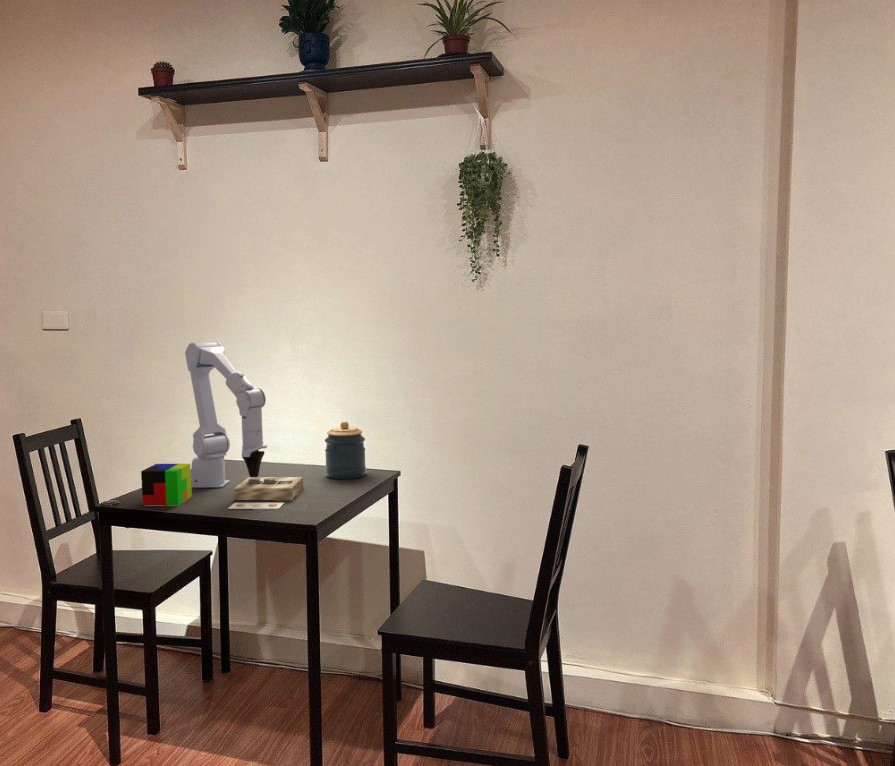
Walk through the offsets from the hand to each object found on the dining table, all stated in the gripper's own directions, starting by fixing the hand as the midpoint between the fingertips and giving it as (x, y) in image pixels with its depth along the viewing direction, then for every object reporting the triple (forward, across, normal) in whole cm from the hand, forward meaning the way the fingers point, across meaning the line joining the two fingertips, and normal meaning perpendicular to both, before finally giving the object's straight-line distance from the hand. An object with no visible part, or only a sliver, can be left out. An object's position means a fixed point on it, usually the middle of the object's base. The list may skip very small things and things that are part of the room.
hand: (254, 476), depth 221 cm
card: (+5, -14, -4) cm, 15 cm away
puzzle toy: (+6, -8, +22) cm, 25 cm away
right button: (+4, 0, -9) cm, 10 cm away
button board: (+5, 0, -4) cm, 7 cm away
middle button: (+3, 0, -5) cm, 5 cm away
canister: (+6, +25, -22) cm, 34 cm away
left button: (+3, 0, 0) cm, 3 cm away
